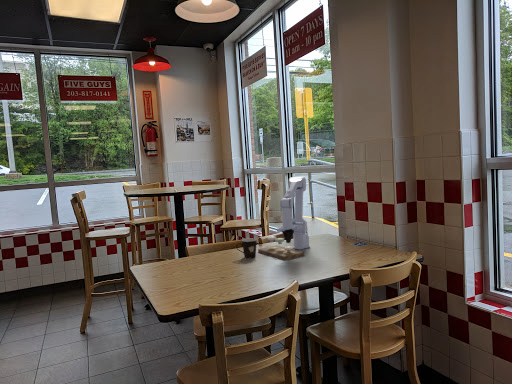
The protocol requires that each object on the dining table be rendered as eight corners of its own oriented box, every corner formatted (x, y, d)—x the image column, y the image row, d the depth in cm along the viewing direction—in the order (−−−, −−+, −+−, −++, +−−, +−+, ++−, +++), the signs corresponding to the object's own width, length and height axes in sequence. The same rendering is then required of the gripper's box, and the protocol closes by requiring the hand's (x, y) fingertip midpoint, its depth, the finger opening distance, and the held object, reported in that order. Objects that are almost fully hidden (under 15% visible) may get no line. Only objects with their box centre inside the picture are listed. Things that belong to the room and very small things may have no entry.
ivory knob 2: (289, 250, 221) (289, 245, 221) (295, 252, 217) (294, 247, 216) (282, 252, 218) (282, 247, 218) (288, 253, 214) (287, 248, 214)
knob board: (276, 248, 239) (276, 245, 239) (304, 255, 217) (303, 251, 217) (258, 252, 231) (258, 248, 231) (284, 260, 209) (284, 256, 209)
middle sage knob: (280, 242, 227) (280, 237, 227) (286, 243, 223) (285, 238, 223) (274, 243, 224) (273, 238, 224) (279, 245, 220) (279, 240, 220)
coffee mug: (258, 254, 225) (257, 238, 224) (256, 258, 216) (255, 241, 215) (238, 255, 226) (237, 238, 225) (236, 259, 217) (235, 241, 216)
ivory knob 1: (272, 240, 234) (272, 235, 234) (277, 241, 230) (277, 237, 229) (266, 242, 231) (266, 237, 231) (271, 243, 227) (270, 238, 227)
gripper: (291, 216, 223) (292, 239, 224) (273, 220, 215) (274, 243, 216) (300, 217, 218) (301, 241, 219) (281, 221, 209) (282, 245, 210)
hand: (288, 242), depth 217 cm, fingers closed
